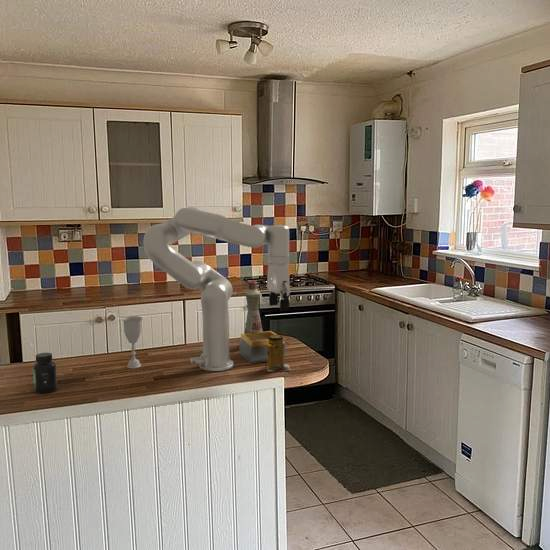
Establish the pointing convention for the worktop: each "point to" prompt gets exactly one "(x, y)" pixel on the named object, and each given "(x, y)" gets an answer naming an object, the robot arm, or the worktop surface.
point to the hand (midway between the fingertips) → (279, 307)
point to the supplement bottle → (44, 374)
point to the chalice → (132, 336)
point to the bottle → (253, 309)
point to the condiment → (276, 354)
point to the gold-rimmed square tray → (255, 346)
